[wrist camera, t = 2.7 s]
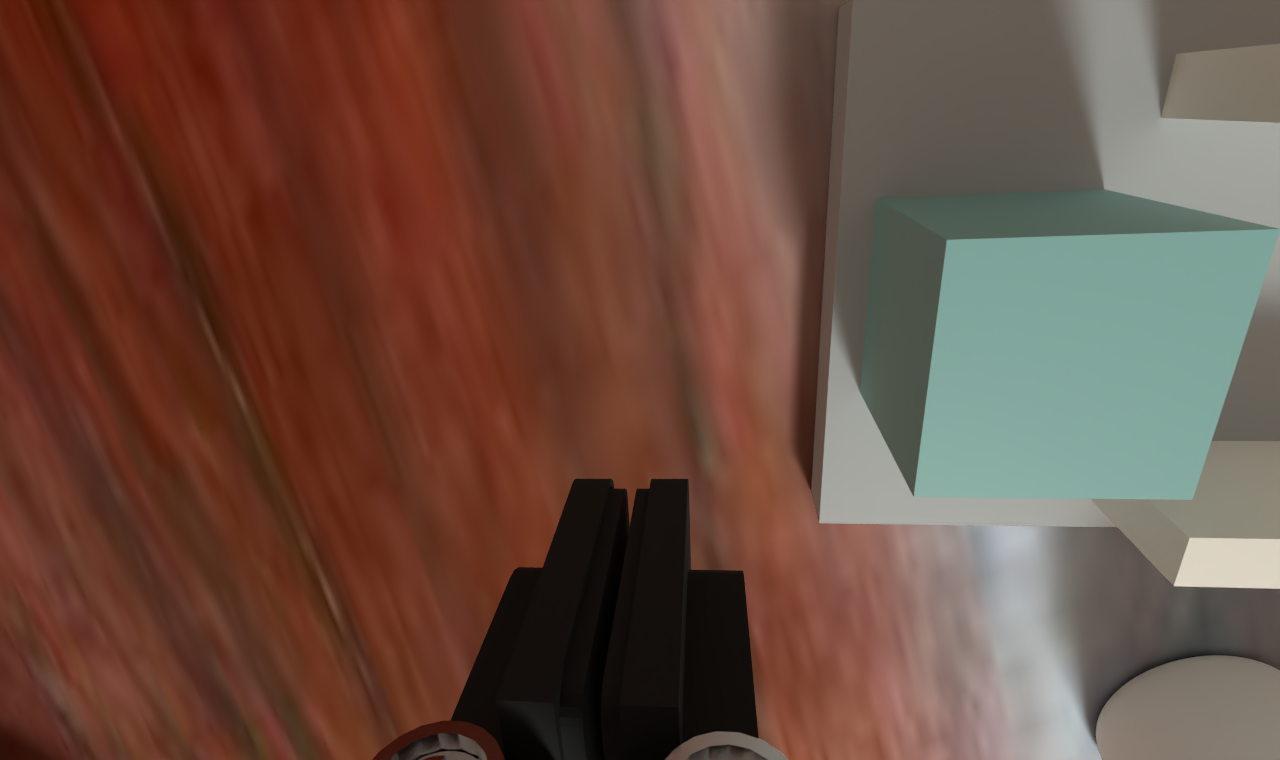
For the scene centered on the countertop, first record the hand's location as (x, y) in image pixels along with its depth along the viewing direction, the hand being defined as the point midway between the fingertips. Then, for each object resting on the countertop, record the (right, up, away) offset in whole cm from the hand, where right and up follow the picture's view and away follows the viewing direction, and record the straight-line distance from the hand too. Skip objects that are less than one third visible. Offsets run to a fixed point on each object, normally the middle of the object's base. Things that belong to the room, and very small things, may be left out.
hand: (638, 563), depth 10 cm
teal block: (+10, +5, +10) cm, 15 cm away
